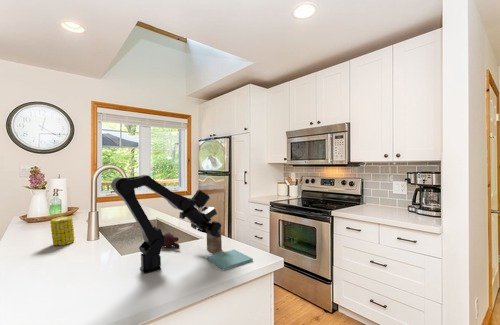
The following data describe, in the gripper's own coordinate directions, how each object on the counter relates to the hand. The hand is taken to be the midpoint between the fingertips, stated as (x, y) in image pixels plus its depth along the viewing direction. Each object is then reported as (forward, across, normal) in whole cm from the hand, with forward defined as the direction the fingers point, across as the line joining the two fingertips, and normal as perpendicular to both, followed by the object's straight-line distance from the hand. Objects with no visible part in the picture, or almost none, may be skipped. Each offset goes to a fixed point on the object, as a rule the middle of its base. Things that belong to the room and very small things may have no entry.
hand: (216, 235), depth 122 cm
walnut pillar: (+4, 0, +6) cm, 7 cm away
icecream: (-6, +21, +16) cm, 27 cm away
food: (-33, +65, +43) cm, 85 cm away
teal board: (+2, -15, +7) cm, 17 cm away
